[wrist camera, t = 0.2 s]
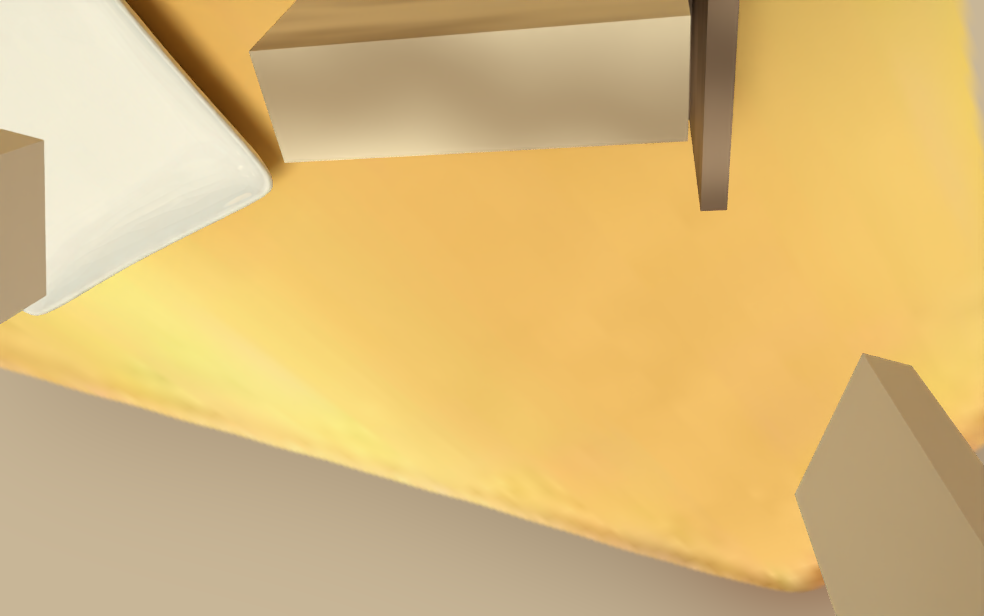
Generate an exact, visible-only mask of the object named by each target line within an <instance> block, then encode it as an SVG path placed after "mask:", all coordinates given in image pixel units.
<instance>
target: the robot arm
mask: <svg viewBox="0 0 984 616" xmlns="http://www.w3.org/2000/svg"><path fill="white" fill-rule="evenodd" d="M45 296H46V232H45V164H44V140H42V139H39V138H35V137H31V136H27V135H23V134H19V133H16V132H12V131H8V130H4V129H0V324H1V323H3V322H4V321H6V320H8V319H9V318H11V317H13V316H14V315H16V314H17V313H19V312H21V311H22V310H24V309H25V308H27V307H29V306H30V305H32V304H34V303H35V302H37V301H38V300H40V299H42V298H43V297H45ZM795 497H796V500H797V503H798V506H799V509H800V512H801V514H802V517H803V520H804V523H805V526H806V529H807V532H808V535H809V538H810V541H811V544H812V547H813V550H814V553H815V556H816V559H817V562H818V565H819V567H820V570H821V573H822V576H823V579H824V582H825V585H826V588H827V591H828V594H829V597H830V600H831V603H832V606H833V609H834V612H835V614H836V616H984V465H983V463H982V462H981V461H980V459H979V458H978V456H977V455H976V454H975V452H974V451H973V450H972V448H971V447H970V445H969V444H968V443H967V441H966V440H965V439H964V437H963V436H962V434H961V433H960V432H959V430H958V429H957V428H956V426H955V425H954V423H953V422H952V421H951V419H950V418H949V416H948V415H947V414H946V412H945V411H944V410H943V408H942V407H941V405H940V404H939V403H938V401H937V400H936V399H935V397H934V396H933V394H932V393H931V392H930V390H929V389H928V387H927V386H926V385H925V383H924V382H923V381H922V379H921V378H920V376H919V375H918V374H917V372H916V371H915V370H914V368H913V367H912V366H910V365H906V364H902V363H899V362H895V361H891V360H887V359H883V358H879V357H876V356H872V355H868V354H864V353H863V354H862V356H861V358H860V360H859V362H858V364H857V366H856V368H855V370H854V372H853V374H852V376H851V378H850V381H849V383H848V385H847V387H846V389H845V391H844V393H843V395H842V397H841V399H840V401H839V403H838V405H837V408H836V410H835V412H834V414H833V416H832V418H831V420H830V422H829V424H828V426H827V428H826V430H825V432H824V435H823V437H822V439H821V441H820V443H819V445H818V447H817V449H816V451H815V453H814V455H813V457H812V459H811V462H810V464H809V466H808V468H807V470H806V472H805V474H804V476H803V478H802V480H801V482H800V484H799V487H798V489H797V491H796V493H795Z"/></svg>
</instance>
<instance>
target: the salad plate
mask: <svg viewBox="0 0 984 616" xmlns="http://www.w3.org/2000/svg"><path fill="white" fill-rule="evenodd" d="M0 129H4V130H8V131H12V132H16V133H19V134H23V135H27V136H31V137H35V138H39V139H42V140H44V164H45V232H46V296H45V297H43V298H42V299H40V300H38V301H37V302H35V303H34V304H32V305H30V306H29V307H27V308H25V309H24V310H23V311H24V312H26V313H28V314H31V315H42V314H45V313H48V312H50V311H52V310H55V309H57V308H59V307H60V306H62V305H64V304H66V303H68V302H69V301H71V300H73V299H74V298H76V297H78V296H79V295H81V294H83V293H84V292H86V291H88V290H89V289H91V288H93V287H94V286H96V285H98V284H99V283H101V282H103V281H105V280H106V279H108V278H110V277H111V276H113V275H115V274H116V273H118V272H120V271H122V270H123V269H125V268H127V267H128V266H130V265H132V264H134V263H136V262H138V261H140V260H141V259H143V258H145V257H147V256H149V255H151V254H153V253H155V252H157V251H159V250H161V249H163V248H165V247H167V246H168V245H170V244H172V243H174V242H176V241H178V240H180V239H182V238H184V237H186V236H188V235H190V234H192V233H194V232H196V231H198V230H200V229H202V228H204V227H206V226H208V225H210V224H212V223H214V222H217V221H219V220H221V219H223V218H224V217H226V216H228V215H230V214H232V213H234V212H236V211H238V210H240V209H242V208H244V207H246V206H248V205H250V204H252V203H253V202H255V201H257V200H259V199H260V198H262V197H264V196H265V195H266V194H267V193H269V192H270V191H271V189H272V187H273V180H272V176H271V173H270V172H269V170H268V168H267V167H266V165H265V163H264V162H263V160H262V159H261V158H260V156H259V155H258V154H257V153H256V151H255V150H254V149H253V148H252V147H251V145H250V144H249V143H248V142H247V141H246V140H245V139H244V138H243V136H242V135H241V134H240V133H239V132H238V131H237V130H236V129H235V127H234V126H233V125H232V124H231V123H230V122H229V121H228V120H227V119H226V117H225V116H224V115H223V114H222V113H221V112H220V111H219V110H218V109H217V107H216V106H215V105H214V104H213V103H212V102H211V101H210V100H209V98H208V97H207V96H206V95H205V94H204V93H203V92H202V91H201V89H200V88H199V87H198V86H197V85H196V84H195V83H194V82H193V80H192V79H191V78H190V77H189V76H188V75H187V73H186V72H185V71H184V70H183V69H182V68H181V66H180V65H179V64H178V63H177V62H176V61H175V59H174V58H173V57H172V56H171V55H170V54H169V52H168V51H167V50H166V49H165V48H164V47H163V45H162V44H161V43H160V42H159V41H158V39H157V38H156V37H155V36H154V35H153V33H152V32H151V31H150V30H149V28H148V27H147V26H146V25H145V24H144V22H143V21H142V20H141V19H140V18H139V16H138V15H137V14H136V13H135V12H134V10H133V9H132V8H131V7H130V6H129V4H128V3H127V2H126V1H125V0H0Z"/></svg>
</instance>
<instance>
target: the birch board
mask: <svg viewBox="0 0 984 616" xmlns="http://www.w3.org/2000/svg"><path fill="white" fill-rule="evenodd" d="M690 21H691V15H690V9H689V2H688V0H296V1H295V2H294V4H293V5H292V6H291V7H290V8H289V9H288V10H287V11H286V12H285V13H284V14H283V15H282V16H281V17H280V19H279V20H278V21H277V22H276V23H275V24H274V25H273V26H272V27H271V28H270V29H269V30H268V31H267V32H266V34H265V35H264V36H263V37H262V38H261V39H260V40H259V41H258V42H257V43H256V44H255V45H254V46H253V47H252V48H251V50H250V51H249V54H250V57H251V60H252V63H253V66H254V69H255V72H256V75H257V78H258V82H259V85H260V88H261V91H262V94H263V97H264V100H265V103H266V106H267V110H268V113H269V116H270V119H271V122H272V125H273V128H274V131H275V134H276V138H277V141H278V144H279V147H280V150H281V153H282V156H283V159H284V162H285V163H289V162H307V161H326V160H345V159H363V158H382V157H401V156H419V155H438V154H456V153H475V152H494V151H512V150H531V149H549V148H568V147H587V146H605V145H624V144H642V143H661V142H680V141H688V109H689V65H690Z"/></svg>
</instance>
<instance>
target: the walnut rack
mask: <svg viewBox="0 0 984 616" xmlns="http://www.w3.org/2000/svg"><path fill="white" fill-rule="evenodd" d="M688 2H689V9H690V15H691V21H690V65H689V109H688V120H689V121H690V129H691V137H692V145H693V153H694V161H695V169H696V177H697V186H698V194H699V202H700V210H701V211H713V210H727V201H728V184H729V167H730V150H731V133H732V116H733V99H734V82H735V65H736V48H737V31H738V14H739V0H688Z"/></svg>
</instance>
